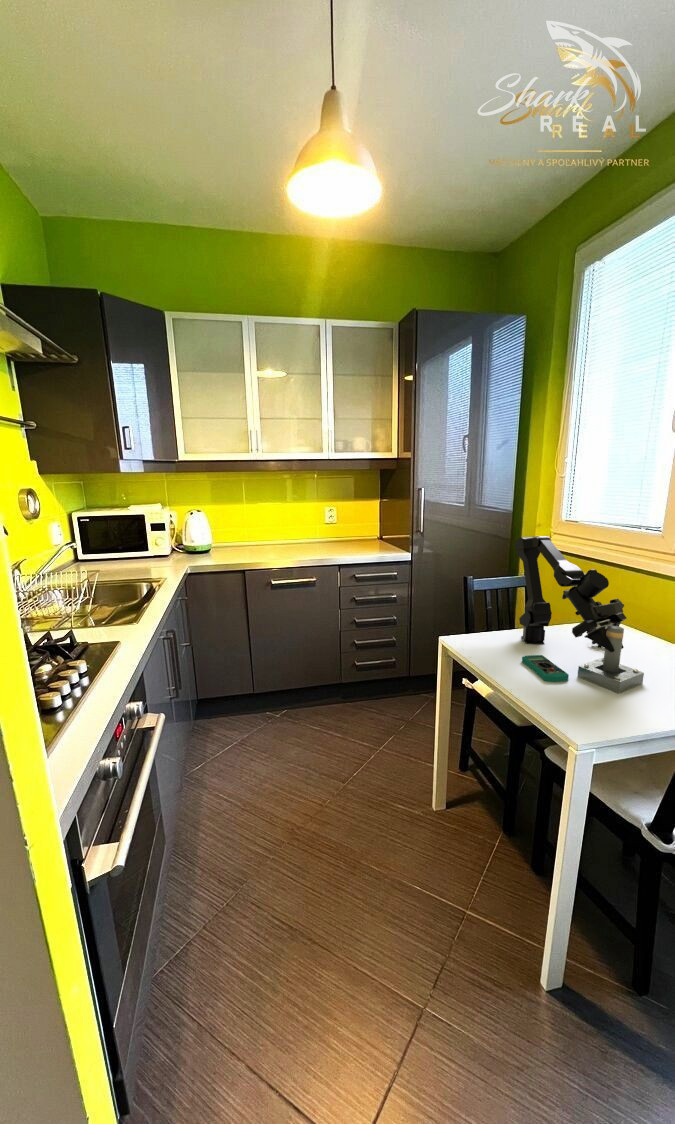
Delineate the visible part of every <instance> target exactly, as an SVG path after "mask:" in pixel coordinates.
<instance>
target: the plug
mask: <svg viewBox="0 0 675 1124" xmlns="http://www.w3.org/2000/svg"><path fill="white" fill-rule="evenodd" d="M624 632H625V629H624V628H623V627H621V626H620V625H619V626H608V627H607V634H606V635H607V637H608V639H609V641H610V642H611V644H612V646H613V648H614V650H615V651H614V652H610V651H608V650H607V649H605V648H604V653H603V658H604V660H603V669H604V670H605V671H608V672H618V671H619V664H620V662H621V655H622V654H621V653H622V649H621V648H622V644H623V641H624V640H623V639H624Z"/></svg>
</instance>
